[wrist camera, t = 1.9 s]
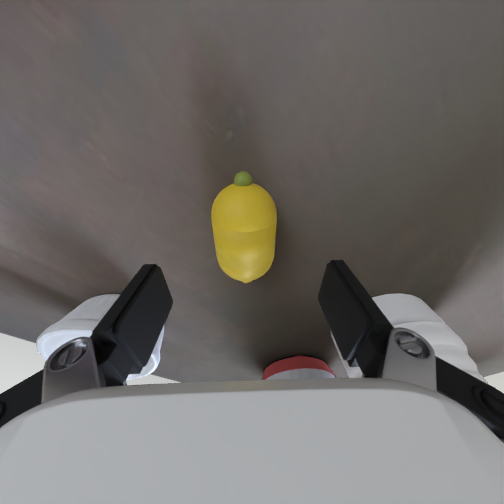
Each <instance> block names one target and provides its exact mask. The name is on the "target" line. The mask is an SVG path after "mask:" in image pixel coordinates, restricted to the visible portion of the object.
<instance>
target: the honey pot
mask: <svg viewBox="0 0 504 504" xmlns="http://www.w3.org/2000/svg"><path fill="white" fill-rule="evenodd" d="M372 299H373V300H374V302H375V303H376V304H377V306H378V307H379V308H380V310H381V311H382V312H383V314H384V315H385V316H386V318H387V319H388V320H389V322H390V323H391V324H392V326H393V327H394V328H398V327H401V328H407V329H409V330H412V331H414V332H416V333H418V334H419V335H421V336H422V337H423V338H425V339H426V340H427V341H428V342H429V344H430V345H431V346H432V348H433V349H434V352H435V356H437V357H439V358H440V359H442V360H444V361H446V362H448V363H450V364H452V365H453V366H455V367H457V368H459V369H461V370H463V371H464V372H466V373H468V374H470V375H472V376H474V377H476V378H477V379H479V380H481V381H483V382H485V383H487V382H486V380H485V379H484V377H483V376H482V375H480V374H479V372H478V371H477V365H476V364H475V362H474V361H473V360H472V359H471V358H470V357H469V356H468V351H467V346H466V345H465V344H464V342H463V341H462V339H461V338H460V337H459V336H458V335H457V334H456V333H454V332H453V331H452V329H451V328H450V327H449V326H447V324H446V323H445V322H444V321H443V320H442V319H441V318H440V317H439V316H438V315H437V314H436V313H435V312H434V311H433V310H432V309H431V308H430V307H429V306H428V305H427V304H426V303H425V302H424V301H423V300H422V299H420V298H418V297H416V296H413V295H409V294H402V293H398V294H385V295H381V296H376V297H372ZM331 337H332V339H333V341H334V344H335V346H336V349H337V351H338V354H339V356H340V358H341V360H342V361H343V365H344V366H345V370H346V373H347V374H348V376H349V377H350V378H362V374H363V373H362V372H361V370H360V367H349V365H348V362H347V360H344V359H343V358H342V356H341V353H340V351H339V348H338V346H337V344H336V341H335V339H334V337H333V334H332V332H331ZM487 384H488V383H487Z"/></svg>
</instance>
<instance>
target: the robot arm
mask: <svg viewBox="0 0 504 504" xmlns="http://www.w3.org/2000/svg"><path fill="white" fill-rule="evenodd" d="M318 301H319V304H320V306H321V308H322V311H323V313H324V315H325V318H326V320H327V323H328V325H329V327H330V330H331V332H332V334H333V337H334V339H335V341H336V344H337V346H338V348H339V351H340V353H341V356H342V358H343V359H344V360H347V362H348V365H349V367H360V370H361V372H362V373H363V374H362V378H318V379H282V380H251V381H221V382H194V383H168V384H145V385H129V386H128V385H127V384H126V379H127V377H128V375H129V374H140V373H141V371H142V369H143V367H145V366H146V365H147V363H148V361H149V359H150V357H151V354H152V352H153V350H154V347H155V345H156V342H157V340H158V338H159V335H160V333H161V331H162V328H163V326H164V324H165V321H166V319H167V317H168V314H169V312H170V310H171V307H172V304H173V300H172V297H171V294H170V291H169V289H168V286H167V283H166V281H165V278H164V275H163V273H162V270H161V268H160V267H158V266H157V265H156V264H145V265H143V266H142V267H141V269H140V270H139V271H138V273H137V274H136V275H135V276H134V278H133V279H132V280H131V282H130V283H129V284H128V286H127V287H126V288H125V289H124V291H123V292H122V293H121V295H120V296H119V297H118V299H117V300H116V301H115V302H114V304H113V305H112V306H111V308H110V309H109V310H108V311H107V313H106V314H105V315H104V317H103V318H102V319H101V321H100V322H99V323H98V324H97V326H96V327H95V328H94V330H93V331H92V335H91V336H90V337H78V338H75V339H72V340H70V341H68V342H66V343H64V344H63V345H61V346H60V347H59V348H57V349H56V350H55V351H54V352H53V353H52V354H51V355H50V356H49V358H48V359H47V361H46V362H45V366H44V369H43V370H41V371H40V372H38V373H36V374H34V375H32V376H31V377H29V378H27V379H26V380H24V381H22V382H20V383H19V384H17V385H15V386H13V387H12V388H10V389H8V390H7V391H5V392H3V393H1V394H0V504H504V394H503V393H502V392H500V391H499V390H497V389H495V388H494V387H492V386H490V385H488V384H487V383H485V382H483V381H481V380H479V379H477V378H476V377H474V376H472V375H470V374H468V373H466V372H464V371H463V370H461V369H459V368H457V367H455V366H453V365H452V364H450V363H448V362H446V361H444V360H442V359H440V358H439V357H437V356H435V352H434V349H433V348H432V346H431V345H430V344H429V342H428V341H427V340H426V339H425V338H423V337H422V336H421V335H419V334H418V333H416V332H414V331H412V330H409V329H407V328H401V327H398V328H394V327H393V326H392V324H391V323H390V322H389V320H388V319H387V318H386V316H385V315H384V314H383V312H382V311H381V310H380V308H379V307H378V306H377V304H376V303H375V302H374V300H373V299H372V298H371V296H370V295H369V294H368V292H367V291H366V290H365V288H364V287H363V286H362V285H361V283H360V282H359V281H358V279H357V278H356V277H355V275H354V274H353V273H352V271H351V270H350V269H349V267H348V266H347V265H346V263H345V262H344V261H343V260H331V261H330V263H328V264H327V266H326V270H325V273H324V277H323V280H322V284H321V287H320V291H319V295H318Z"/></svg>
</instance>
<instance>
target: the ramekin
mask: <svg viewBox="0 0 504 504" xmlns="http://www.w3.org/2000/svg"><path fill="white" fill-rule="evenodd" d="M120 295H121V294H105V295H100V296H96V297H92V298H90V299H88V300H86V301H85V302H83V303H82V304H80V305H79V306H78V307H77V308H75V309H74V310H73V311H71V312H70V313H69V314H68V315H66V316H65V317H64V318H63V319H61V320H60V321H59V322H58V323H55V324H53V325H51V326H50V327H48V328H47V329H46V330H45V331H44V332H43V333H42V334H41V335H40V336H39V337H38V339H37V342H36V345H37V350H38V352H39V353H40V355H41V356H42V357H43V358H45V359H46V360H47V359H48V358H49V356H50V355H51V354H52V353H53V352H54V351H55V350H56V349H57V348H59V347H60V346H61V345H63V344H64V343H66V342H68V341H70V340H72V339H75V338H78V337H90V336H91V335H92V331H93V330H94V328H95V327H96V326H97V324H98V323H99V322H100V321H101V319H102V318H103V317H104V315H105V314H106V313H107V311H108V310H109V309H110V308H111V306H112V305H113V304H114V302H115V301H116V300H117V299H118V297H119V296H120ZM163 334H164V326H163V328H162V331H161V333H160V335H159V338H158V340H157V342H156V345H155V347H154V350H153V352H152V354H151V357H150V359H149V361H148V363H147V365H146V366H145V367H143V369H142V371H141V373H140V374H129V375H128V377H127V379H126V380H129V379H136V378H140V377H143V376H146V375H148V374H150V373H152V372H153V371H154V370H155V369H156V368H157V366H158V363H159V360H160V348H161V344H162V339H163Z"/></svg>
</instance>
